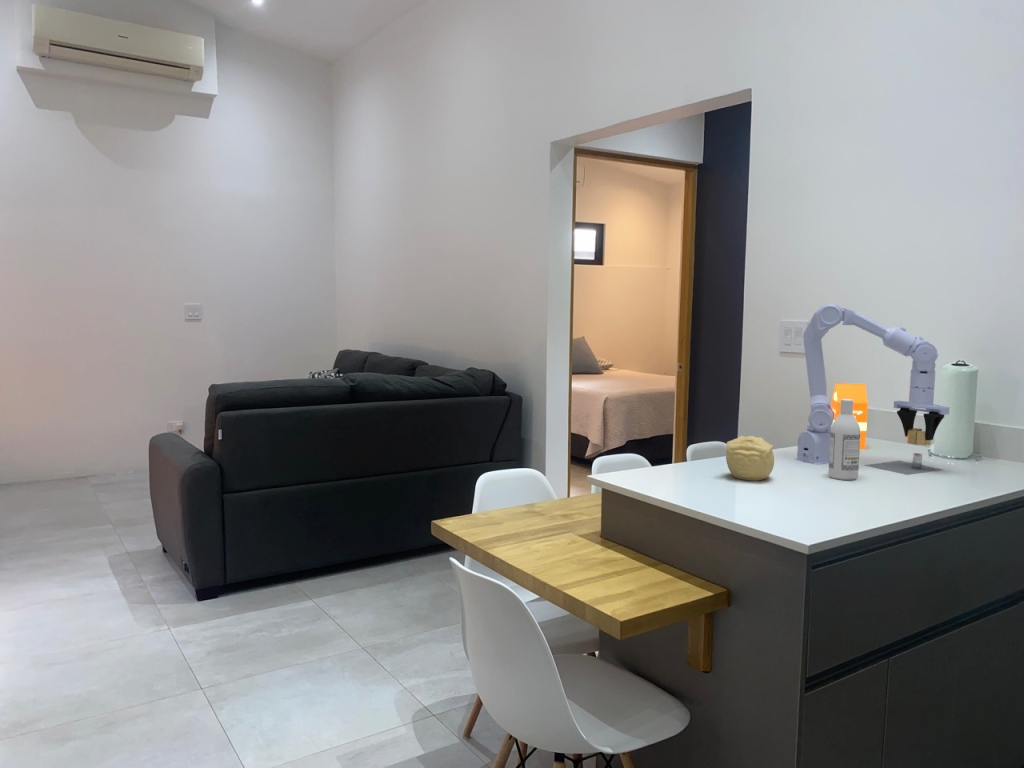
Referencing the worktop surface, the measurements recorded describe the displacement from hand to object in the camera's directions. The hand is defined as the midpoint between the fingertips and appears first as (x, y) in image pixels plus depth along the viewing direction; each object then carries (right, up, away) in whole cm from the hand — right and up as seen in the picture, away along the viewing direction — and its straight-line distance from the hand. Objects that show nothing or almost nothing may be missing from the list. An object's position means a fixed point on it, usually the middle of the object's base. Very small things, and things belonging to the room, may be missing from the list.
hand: (918, 438), depth 200 cm
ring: (0, -1, 0) cm, 1 cm away
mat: (-3, -8, +2) cm, 9 cm away
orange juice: (-4, -6, +33) cm, 34 cm away
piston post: (0, -9, +1) cm, 9 cm away
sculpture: (-48, -10, -10) cm, 50 cm away
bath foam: (-24, -10, -9) cm, 28 cm away
